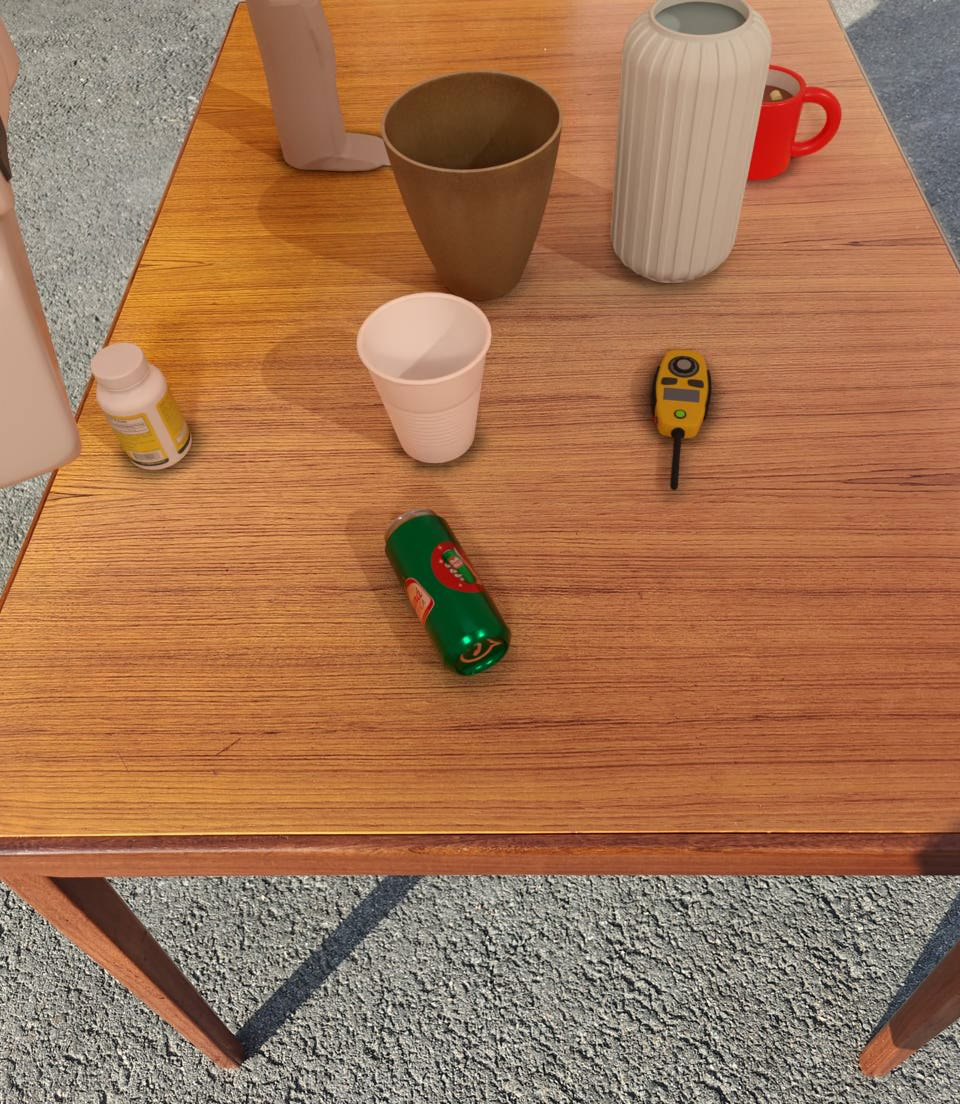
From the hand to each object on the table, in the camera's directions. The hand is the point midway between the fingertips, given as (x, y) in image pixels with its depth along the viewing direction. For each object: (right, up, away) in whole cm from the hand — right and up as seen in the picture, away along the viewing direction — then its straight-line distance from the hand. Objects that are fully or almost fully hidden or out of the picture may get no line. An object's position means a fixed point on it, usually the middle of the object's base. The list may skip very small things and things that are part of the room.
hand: (45, 396), depth 37 cm
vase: (+35, +22, +52) cm, 66 cm away
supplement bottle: (-9, +2, +41) cm, 42 cm away
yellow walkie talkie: (+34, +4, +39) cm, 51 cm away
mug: (+48, +35, +60) cm, 85 cm away
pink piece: (+3, +38, +65) cm, 75 cm away
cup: (+14, +3, +39) cm, 42 cm away
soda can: (+18, -13, +24) cm, 33 cm away
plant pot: (+18, +20, +51) cm, 58 cm away
